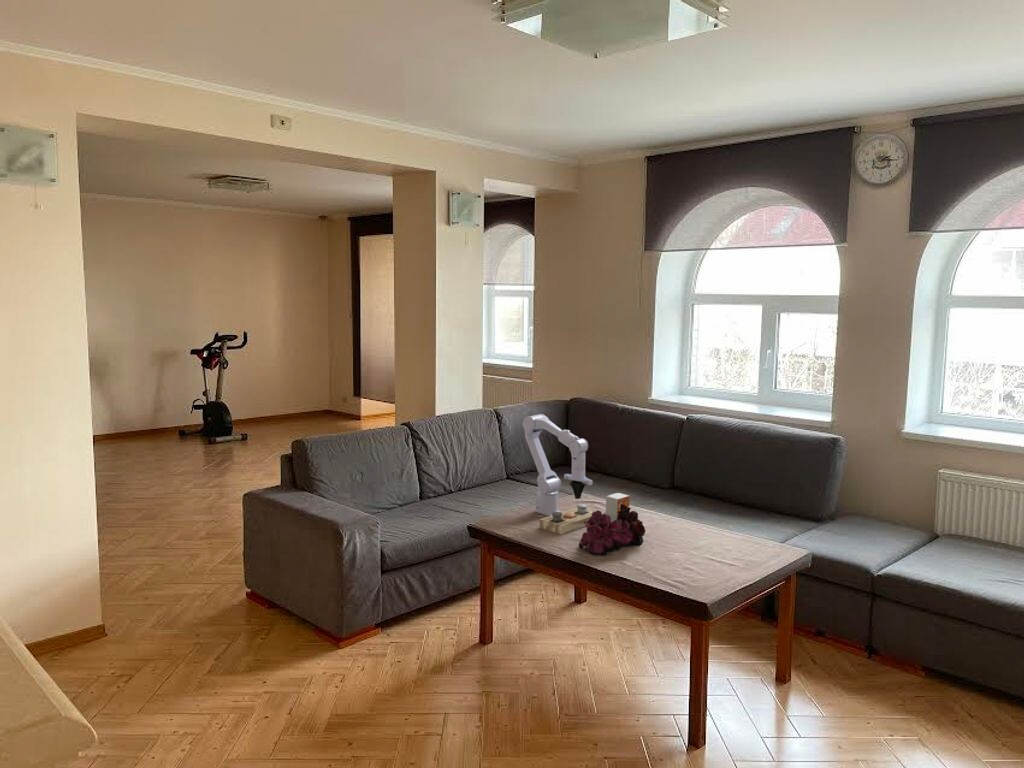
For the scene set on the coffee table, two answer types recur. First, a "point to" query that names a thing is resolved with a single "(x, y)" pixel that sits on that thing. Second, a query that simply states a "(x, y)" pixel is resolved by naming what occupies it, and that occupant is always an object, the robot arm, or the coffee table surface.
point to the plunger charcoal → (557, 517)
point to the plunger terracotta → (569, 515)
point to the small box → (615, 504)
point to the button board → (566, 522)
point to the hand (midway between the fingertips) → (577, 498)
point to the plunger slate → (581, 509)
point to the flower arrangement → (612, 532)
